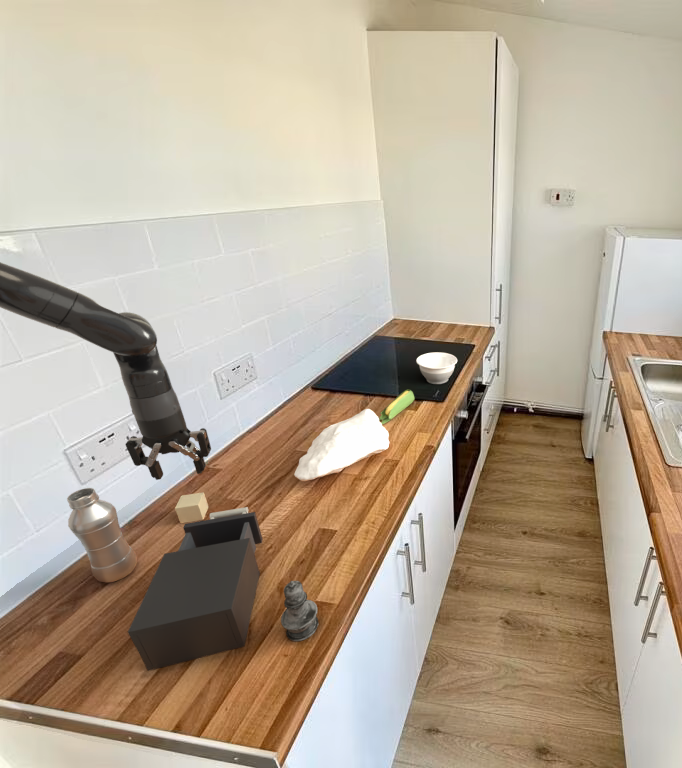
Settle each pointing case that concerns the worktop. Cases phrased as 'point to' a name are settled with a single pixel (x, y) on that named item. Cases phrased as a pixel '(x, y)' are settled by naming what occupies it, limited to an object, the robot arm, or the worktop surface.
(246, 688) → the worktop surface
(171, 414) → the robot arm
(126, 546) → the silver metal bottle
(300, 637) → the grey tiered figure
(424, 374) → the bowl
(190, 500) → the block
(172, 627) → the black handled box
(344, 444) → the crumpled cloth
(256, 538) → the drawer
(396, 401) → the edible corn
